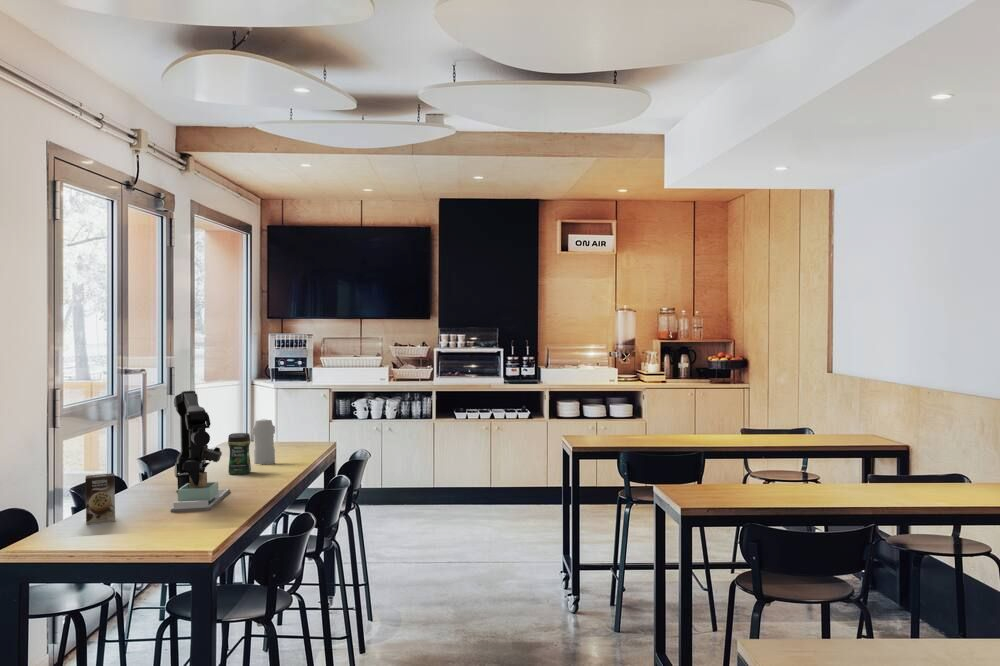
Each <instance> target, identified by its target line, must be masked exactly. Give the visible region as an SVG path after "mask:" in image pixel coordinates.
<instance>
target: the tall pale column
mask: <svg viewBox="0 0 1000 666" xmlns="http://www.w3.org/2000/svg"><path fill="white" fill-rule="evenodd" d="M272 421H273V420H272V419H267V418H266V419H265V418H263V419H257V420H255V422H254V425H253V427H252V435H253V439H254V441H253V442H254V449H253V457H254V458H253V459H254V460H253V461H254V464H266V465H275V464H276V457H275V456H276V453H275V452H276V449H275V445H274V441H275V439H274V437H275V434H276V427H275V425H274V424H273V422H272Z"/></svg>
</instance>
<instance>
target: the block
mask: <svg viewBox="0 0 1000 666" xmlns="http://www.w3.org/2000/svg"><path fill="white" fill-rule="evenodd" d="M189 477H190V475H189ZM207 482H208V472H207V471H205V472H200V475H199V483H198V485H197V486H195V485H194V483H193V481H192V479H191V477H190V488H204V487H205V486H206V485H207Z"/></svg>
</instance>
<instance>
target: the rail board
mask: <svg viewBox="0 0 1000 666" xmlns="http://www.w3.org/2000/svg"><path fill="white" fill-rule="evenodd" d="M230 493H231V489H230V488H228V487H227V489H218V495H216V496H215V497H214V498H213V499H212V500H211V501H209V503H208V500H202V501H182V502H178V501H174V502H173V506H172V507H171V508H170V512H171V513H178V512H196V511H201V512H202V511H211V510H212V509H213V508H215V507H216V506H217V505H218V504H219V503H220V502H221V501H222V500H223V499H224V498H225V497H226V496H228V495H229V494H230Z"/></svg>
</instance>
